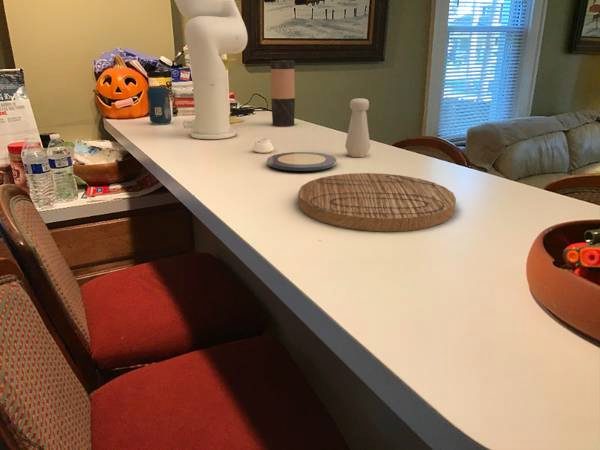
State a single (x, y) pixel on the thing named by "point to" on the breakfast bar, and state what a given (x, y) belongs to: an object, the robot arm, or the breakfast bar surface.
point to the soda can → (159, 105)
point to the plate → (301, 161)
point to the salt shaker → (358, 129)
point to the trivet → (376, 202)
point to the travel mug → (283, 92)
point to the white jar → (263, 146)
